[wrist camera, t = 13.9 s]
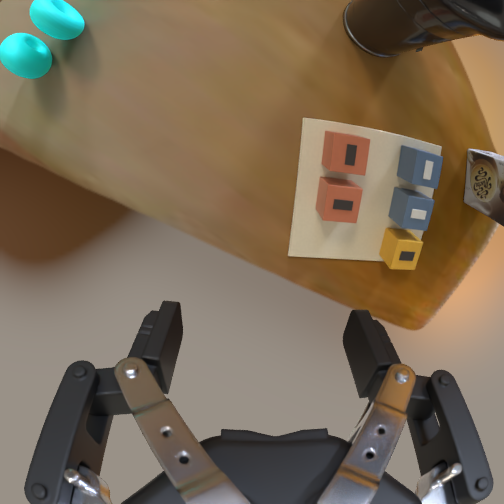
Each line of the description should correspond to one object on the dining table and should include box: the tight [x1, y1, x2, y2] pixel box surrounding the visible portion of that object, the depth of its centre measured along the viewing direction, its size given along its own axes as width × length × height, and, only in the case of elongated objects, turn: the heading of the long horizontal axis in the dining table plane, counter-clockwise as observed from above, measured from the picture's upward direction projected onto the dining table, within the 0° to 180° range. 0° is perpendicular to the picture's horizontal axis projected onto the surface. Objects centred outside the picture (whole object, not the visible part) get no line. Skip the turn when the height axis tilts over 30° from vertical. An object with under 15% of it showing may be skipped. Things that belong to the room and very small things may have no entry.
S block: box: [379, 228, 423, 270], centre depth 37 cm, size 4×4×4 cm
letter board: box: [288, 118, 442, 261], centre depth 36 cm, size 19×21×1 cm
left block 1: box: [321, 131, 370, 176], centre depth 31 cm, size 4×4×4 cm
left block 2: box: [315, 177, 363, 223], centre depth 34 cm, size 4×4×4 cm
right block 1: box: [397, 145, 443, 189], centre depth 32 cm, size 4×4×4 cm
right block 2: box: [388, 187, 434, 231], centre depth 34 cm, size 4×4×4 cm
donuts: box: [0, 0, 85, 79], centre depth 20 cm, size 10×10×10 cm
